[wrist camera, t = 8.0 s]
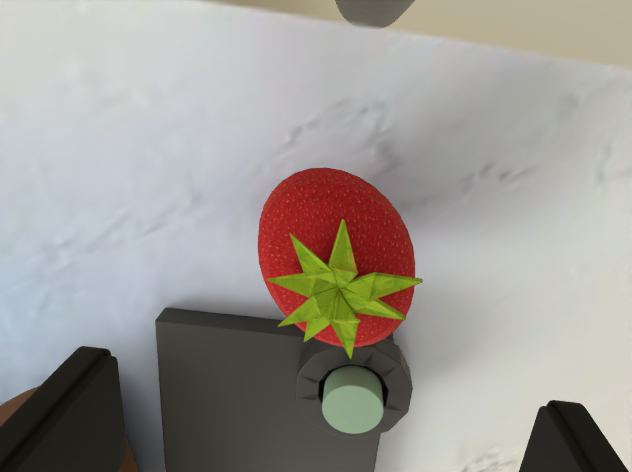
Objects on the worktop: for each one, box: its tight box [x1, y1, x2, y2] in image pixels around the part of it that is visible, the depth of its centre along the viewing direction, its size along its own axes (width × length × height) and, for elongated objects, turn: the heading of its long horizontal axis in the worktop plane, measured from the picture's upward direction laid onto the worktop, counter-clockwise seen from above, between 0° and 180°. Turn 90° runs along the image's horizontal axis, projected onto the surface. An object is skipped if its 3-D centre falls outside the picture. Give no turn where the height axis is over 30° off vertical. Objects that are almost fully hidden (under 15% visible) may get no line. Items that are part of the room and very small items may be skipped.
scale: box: [155, 308, 413, 472], centre depth 26 cm, size 14×14×3 cm
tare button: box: [322, 366, 384, 434], centre depth 22 cm, size 3×3×2 cm
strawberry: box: [258, 168, 423, 360], centre depth 18 cm, size 6×8×10 cm
